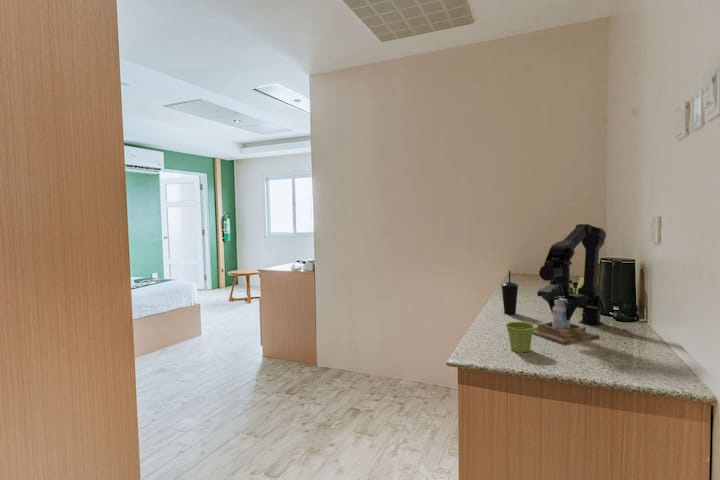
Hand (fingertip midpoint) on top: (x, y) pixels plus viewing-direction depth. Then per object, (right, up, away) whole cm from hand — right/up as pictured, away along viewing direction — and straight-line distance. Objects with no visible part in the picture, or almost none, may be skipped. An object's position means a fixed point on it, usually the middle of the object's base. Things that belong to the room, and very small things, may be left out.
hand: (561, 318), depth 159 cm
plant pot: (-22, -8, -15) cm, 28 cm away
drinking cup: (-7, -5, +34) cm, 35 cm away
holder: (0, -6, 0) cm, 6 cm away
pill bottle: (0, -5, 0) cm, 5 cm away
